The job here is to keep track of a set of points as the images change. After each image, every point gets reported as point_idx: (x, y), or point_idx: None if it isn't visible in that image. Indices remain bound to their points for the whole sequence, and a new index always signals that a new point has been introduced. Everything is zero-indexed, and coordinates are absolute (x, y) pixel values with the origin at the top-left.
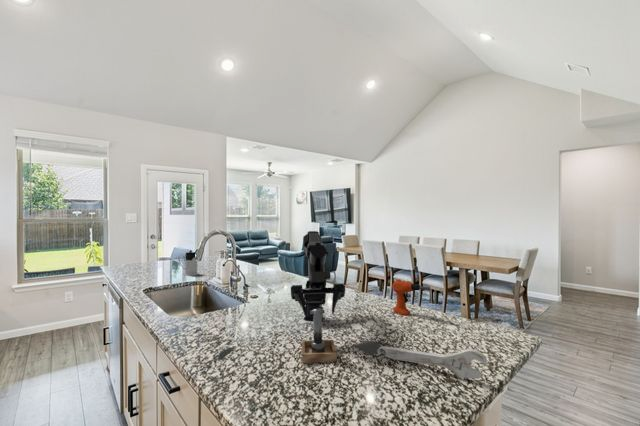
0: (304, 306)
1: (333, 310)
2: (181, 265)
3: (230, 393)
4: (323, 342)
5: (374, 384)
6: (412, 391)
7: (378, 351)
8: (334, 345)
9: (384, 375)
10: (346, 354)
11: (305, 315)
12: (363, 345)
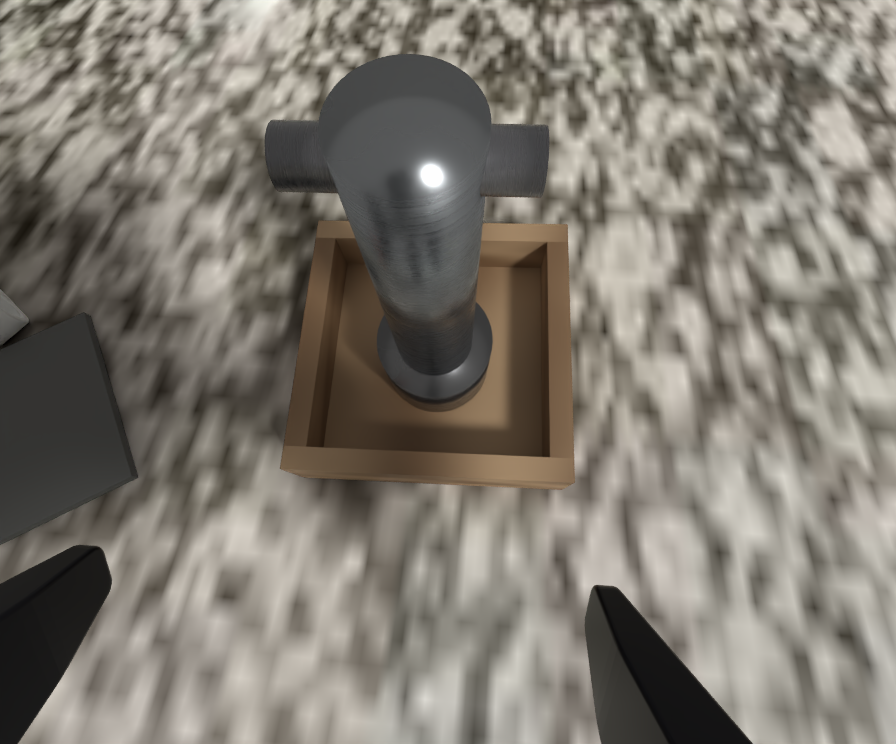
0: (675, 716)
1: (36, 574)
2: None
3: (891, 23)
4: (387, 326)
5: (211, 61)
6: (79, 15)
7: (4, 315)
8: (298, 351)
9: (125, 122)
10: (235, 360)
11: (593, 605)
12: (48, 474)
